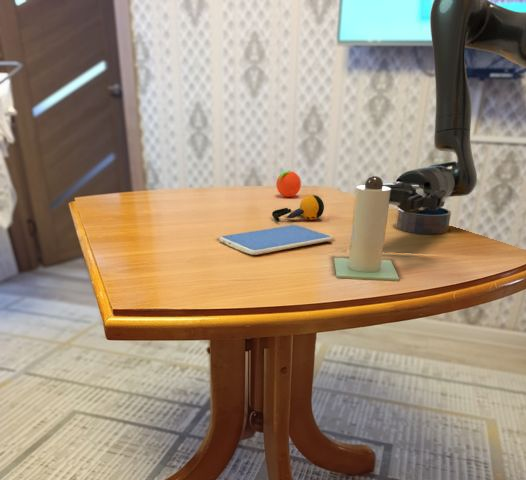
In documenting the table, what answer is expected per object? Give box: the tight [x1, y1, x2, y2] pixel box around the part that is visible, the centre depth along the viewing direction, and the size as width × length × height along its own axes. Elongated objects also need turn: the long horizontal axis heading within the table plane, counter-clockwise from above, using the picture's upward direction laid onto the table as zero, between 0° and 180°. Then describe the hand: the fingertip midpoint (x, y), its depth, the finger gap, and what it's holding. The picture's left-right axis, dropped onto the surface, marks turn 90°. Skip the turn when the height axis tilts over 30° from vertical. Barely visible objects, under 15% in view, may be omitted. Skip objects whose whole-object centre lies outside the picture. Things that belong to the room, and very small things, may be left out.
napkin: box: [333, 257, 400, 282], centre depth 86 cm, size 10×10×1 cm
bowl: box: [395, 207, 452, 235], centre depth 111 cm, size 11×11×4 cm
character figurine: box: [271, 194, 325, 222], centre depth 119 cm, size 10×6×12 cm
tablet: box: [219, 224, 333, 256], centre depth 100 cm, size 19×13×1 cm, turn 125°
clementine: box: [275, 170, 302, 198], centre depth 142 cm, size 8×7×7 cm
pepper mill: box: [348, 175, 391, 272], centre depth 83 cm, size 5×5×15 cm
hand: (384, 201), depth 84 cm, fingers open, 8 cm apart
